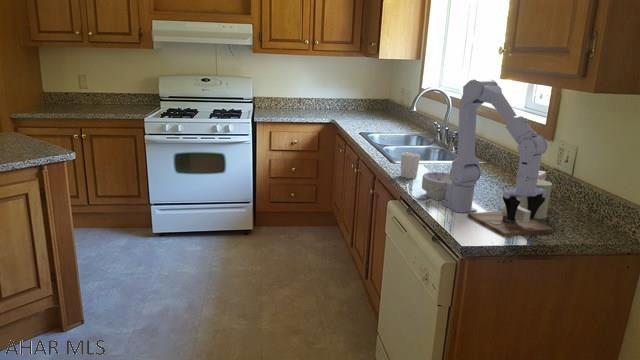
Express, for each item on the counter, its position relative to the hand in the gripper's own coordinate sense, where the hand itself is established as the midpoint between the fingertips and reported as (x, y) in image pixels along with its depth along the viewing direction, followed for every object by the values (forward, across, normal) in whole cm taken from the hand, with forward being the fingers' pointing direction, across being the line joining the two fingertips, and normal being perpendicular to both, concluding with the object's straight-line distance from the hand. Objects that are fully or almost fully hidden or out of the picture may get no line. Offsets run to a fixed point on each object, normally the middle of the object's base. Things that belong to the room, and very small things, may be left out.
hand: (520, 219), depth 146 cm
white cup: (+4, -2, +65) cm, 65 cm away
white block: (0, 0, +2) cm, 2 cm away
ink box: (+4, +26, +22) cm, 35 cm away
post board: (+3, 0, +4) cm, 6 cm away
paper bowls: (+4, -5, +35) cm, 36 cm away
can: (+4, +16, +12) cm, 20 cm away
